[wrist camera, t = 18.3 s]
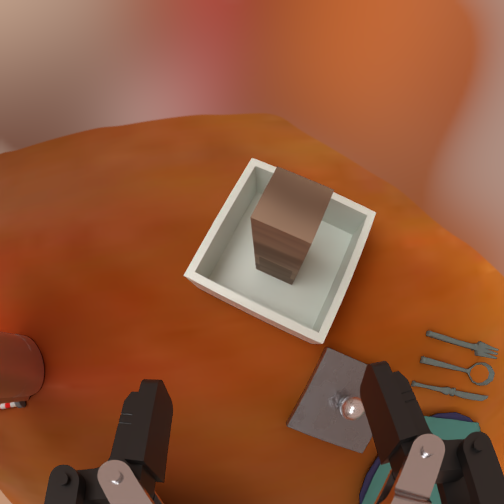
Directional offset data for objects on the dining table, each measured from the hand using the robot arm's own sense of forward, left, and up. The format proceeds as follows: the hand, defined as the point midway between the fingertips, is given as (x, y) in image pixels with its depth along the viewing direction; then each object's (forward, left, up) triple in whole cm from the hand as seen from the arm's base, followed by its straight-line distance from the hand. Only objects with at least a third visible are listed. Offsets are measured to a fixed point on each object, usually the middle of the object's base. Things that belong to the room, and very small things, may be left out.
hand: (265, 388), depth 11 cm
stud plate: (-1, -11, -23) cm, 26 cm away
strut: (+11, +3, -22) cm, 25 cm away
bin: (+11, +3, -23) cm, 26 cm away
